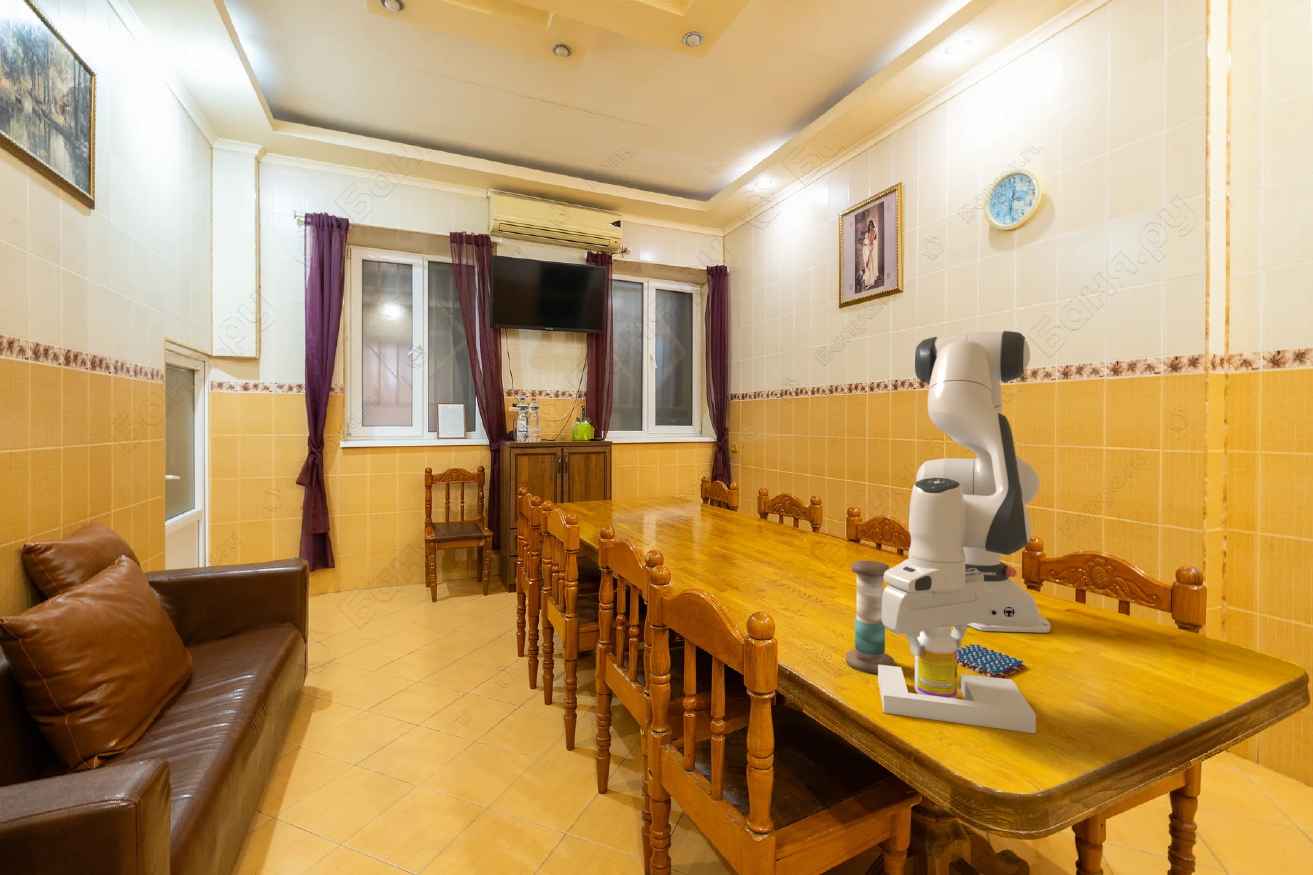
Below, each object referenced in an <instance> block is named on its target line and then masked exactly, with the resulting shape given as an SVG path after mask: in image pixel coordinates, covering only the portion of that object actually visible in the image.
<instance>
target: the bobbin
mask: <svg viewBox="0 0 1313 875" xmlns="http://www.w3.org/2000/svg"><path fill="white" fill-rule="evenodd" d="M888 569H890V566H889V565H888V564H887V563H884V562H879V561H874V560H855V561H853V562H851V572H853V573H855V574H856V616H855V617H854V649H850V650H848V651H847V652H846V654H845V663H846V664H847V666H849V667H850V668H852V669H854V670H855V671H859V672H862V673H866V674H872V675H878V665H887V666H895V660H894V657H893V656H891V655H890V654H888V653H886V627H885V626H884V625H883V623H882V597H883V592H884V573H885V571H887V570H888Z"/></svg>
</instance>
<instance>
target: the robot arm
mask: <svg viewBox="0 0 1313 875" xmlns="http://www.w3.org/2000/svg"><path fill="white" fill-rule="evenodd" d="M1030 360H1031V350H1030V346H1029V344H1028V342H1027V341H1026V337H1025V336H1024V335H1023V334H1022V333H1021V332H1018V331H1010V330H1003V332H999V331H998V332H997V331H971V332H968V333H960V334H951V335H948V336H947V335H944V336H940V337H937V336H933V337H930V338H926V339H923V340H922V341H921V342H919V343H918V344H917V346H916V348H915V351H914V353H913V358H912V365H913V370H914V372H915V376H916V378H917V379H919V381H921V382H922V383H925V384H928V392H927V414H928V417H929V419H930V422H932V424H933V425H934V426H935V427H936V428H937V429H938V430H940V431H941V432H943V433H944V434H946V435H947V436H949V438H951V440H952V441H953V442H955V444H957V445H959V446H961V447H963V448H966V449H968V450H969V451H972V452H973V453H974V454H975V455H976V457H977V458H976V457H975V458H958V457H957V458H955V457H953V458H952V457H944V458H943V457H942V458H936V459H931V460H925V461H924V462H923V463H921V465H920V467H919V468H918V469H917V473H916V477H915V480H916V481H915V483H914V484H913V486H912V491H911V495H910V502H909V508H908V531H909V536H910V547H909V548H908V558H907V559H905V560H903V561H902V562H900V563H898V564H896V565H895V566H893V567H891V568H890V567H889V569H888V570H887V571H885V573H884V576H883V582H884V583H886V584H887V585H886V586H885V588H883V597H882V623H883V625H884V626H885V630H888V631H889V632H892V633H894V634H896V635H905V637H906V638H907V641H908V643H910V644H909V646H910V647H909V649H910V650H909V651H910V653H911V655H914V657H915V656H920V655H924V654H925V652H924V650H925V646H924V645H922V644H920V643H919V641H918V639H917V637H920V633H921V632H922V631H925V630H932V629H936V628H937V627H942V626H948V625H951V627H953V628H952V629H951V632H950V637H952V638H953V639H954V640H955V641H956V643H957V649H959V650H961V648H962V642H963V641H962V640H963V638H964V636H965V634H966V633H967V631H968V627H972V628H973V629H976V630H979V631H982V632H1006V633H1007V632H1008V633H1009V632H1014V633H1042V634H1043V633H1050V632H1051V630H1052V629H1051V627H1052V626H1051V624H1050V622H1049V620H1048V619H1047V618H1046V617H1044V616H1043V615H1042V614H1040V613H1039V608H1038V605H1037V601H1036V600H1035V598H1034V597H1033V596H1032V595H1031V594H1030V593H1029V592H1027V590H1026V589H1024V588H1022V586H1020V585H1019V584H1018V583H1016V582H1015V581H1014V580H1012V579H1011V578H1015V577H1016V576H1017V575H1018V572H1017V570H1016V569H1015V568H1014V567H1013V566H1009V565H1008V564H1006V563H1004V562H1002V561H1001V556H1002V555H1005V556H1010V555H1012V554H1014V553H1016V552H1019V551H1020V550H1022V549H1024V548H1025V547H1026V546H1027V545H1029V541H1030V538H1031V535H1032V523H1031V522H1032V521H1031V517H1030V514H1029V510H1028V508H1027V505H1026V504H1029V503H1031V501H1033V500H1034V499H1035V497H1037V495H1038V493H1039V490H1040V479H1039V475H1038V473H1037V471H1036V470H1035V468H1034V467H1033V466H1032V465H1031V464H1029V463H1028V462H1026V461H1024V460H1023V459H1021V457H1019V456H1018V455H1017V451H1016V447H1015V442H1014V437H1013V431H1012V428H1011V425H1010V422H1009V420H1008V418H1007V416H1006V415H1004V414H1003V411H1002V407H1003V406H1002V405H1003V400H1002V386H1001V382H1002V383H1004V384H1007V383H1009V382H1011V381H1014V380H1017V379H1019V378H1020V377H1021V376H1022V375H1024V374H1025V371H1026V370H1027V368H1028V366H1029V363H1030ZM1010 577H1011V578H1010Z"/></svg>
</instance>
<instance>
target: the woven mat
mask: <svg viewBox="0 0 1313 875" xmlns="http://www.w3.org/2000/svg"><path fill="white" fill-rule="evenodd" d="M1023 663H1024V660H1021V659H1018V658H1017V657H1013V656H1009V655H1008V654H1005V653H1002V652H997V650H996V651H995V650H994V649H990V648H987V647H983V646H982V645H980V644H973V643H970V644H969V645H966V646H965V647H962V646H961V648H960V649H957V665H958V666H960V667H966V668H965V669H968V670H969V671H971V672H973V671H974V672H976V673H980V674H981V675H982V676H986V677H993V678H1002V679H1004V678H1006V677H1007V676H1010V675H1011V674H1014V673H1016V672H1020V670H1023V669H1024V668H1025V667H1026V665H1025V664H1023ZM964 665H965V666H964ZM969 668H970V669H969Z"/></svg>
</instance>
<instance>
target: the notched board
mask: <svg viewBox="0 0 1313 875" xmlns="http://www.w3.org/2000/svg"><path fill="white" fill-rule="evenodd" d="M960 679H961V680H960V691H961V693H962V695H963V698H964V699H961V698H956V699H954V698H946V697H938V696H930V695H922V694H918V693H913V692H909V691H908V688H907V684H906V683H907V682H906V680H905V676H904V673H903V670H902V666H895V665H894V666H887V665H878V674H877V682H878V687H879V693H880V698H881V704H882V709H883V713H884V714H889V715H898V716H904V717H911V718H912V717H913V718H921V719H927V720H934V721H941V722H949V723H957V724H963V725H972V726H978V727H986V728H992V729H993V728H994V729H1000V730H1007V731H1008V730H1009V731H1013V732H1014V731H1016V732H1022V733H1028V734H1037V733H1036V730H1037V726H1036V724H1037V714H1036V713H1035V711H1034V709H1033V708H1032V707H1031V706H1030V704H1029V703H1028V701H1027V699H1026V698H1025V697H1024V695H1023V694H1022V693H1021V691H1020V689H1019V688H1018V686H1017V685H1016V683H1015V682H1014V681H1013V679H1010V678H1008V679H1007V678H995V677H994V676H993V677H987V676H985V675H982V676H981V675H976V674H975V675H973V674H966V673H960Z"/></svg>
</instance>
